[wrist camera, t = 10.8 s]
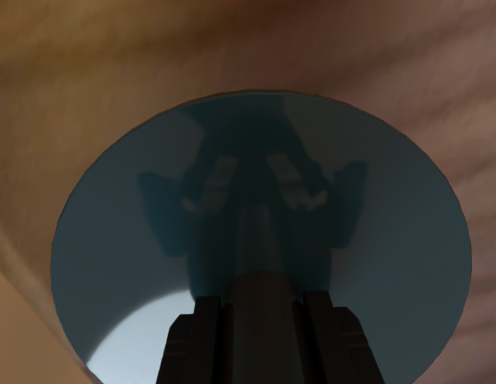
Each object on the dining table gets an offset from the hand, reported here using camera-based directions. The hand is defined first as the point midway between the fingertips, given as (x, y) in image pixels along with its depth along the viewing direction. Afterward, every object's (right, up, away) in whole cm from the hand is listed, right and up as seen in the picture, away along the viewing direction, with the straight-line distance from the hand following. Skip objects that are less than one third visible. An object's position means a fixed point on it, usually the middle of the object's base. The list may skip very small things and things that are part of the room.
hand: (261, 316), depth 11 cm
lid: (0, 0, +1) cm, 1 cm away
